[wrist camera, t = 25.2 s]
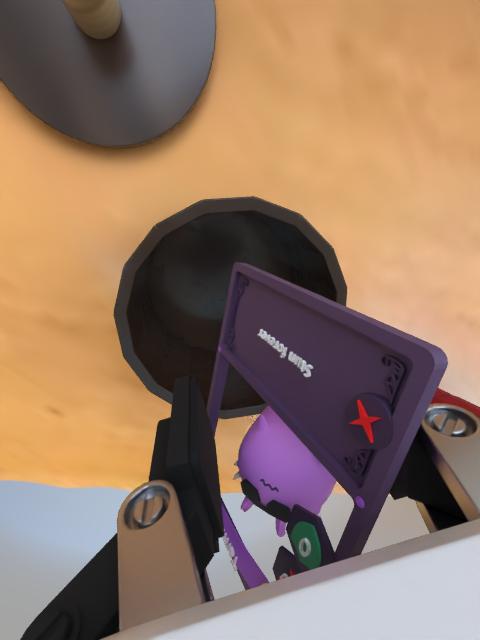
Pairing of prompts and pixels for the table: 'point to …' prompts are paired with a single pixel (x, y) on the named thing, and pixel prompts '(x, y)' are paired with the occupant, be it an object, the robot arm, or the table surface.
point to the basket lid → (107, 64)
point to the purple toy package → (317, 413)
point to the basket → (211, 289)
